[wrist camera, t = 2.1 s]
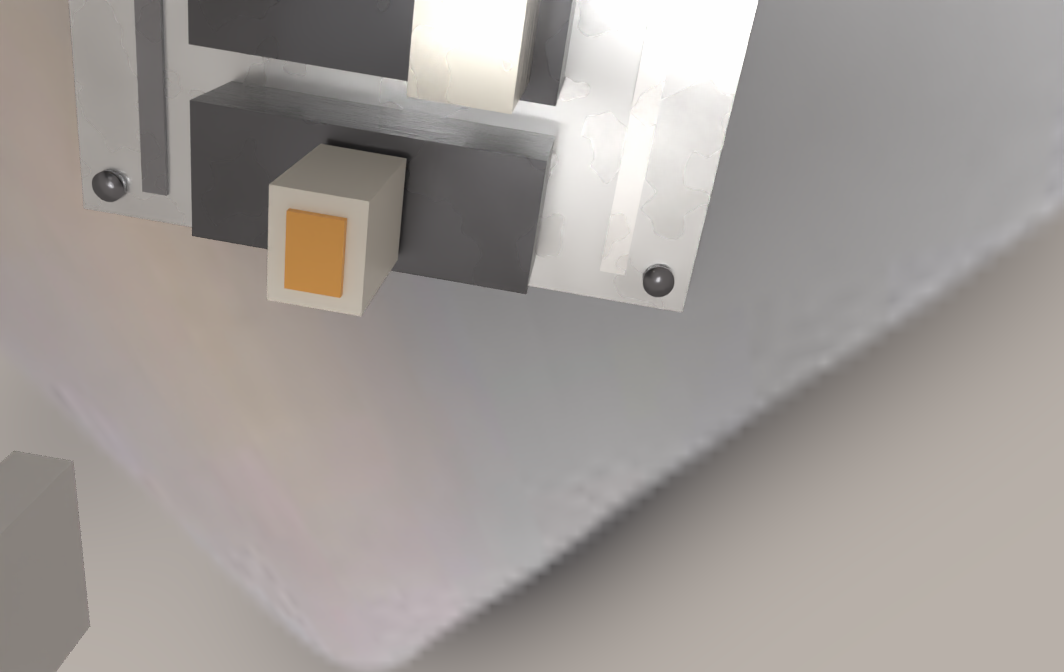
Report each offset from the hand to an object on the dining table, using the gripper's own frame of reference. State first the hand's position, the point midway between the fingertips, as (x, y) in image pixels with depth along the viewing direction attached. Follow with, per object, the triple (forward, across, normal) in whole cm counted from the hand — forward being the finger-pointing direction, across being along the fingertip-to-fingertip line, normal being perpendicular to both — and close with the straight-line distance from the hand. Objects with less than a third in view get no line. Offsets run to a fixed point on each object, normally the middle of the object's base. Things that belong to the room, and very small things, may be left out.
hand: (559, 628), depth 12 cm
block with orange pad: (+15, -7, 0) cm, 17 cm away
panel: (+21, -7, +5) cm, 22 cm away
